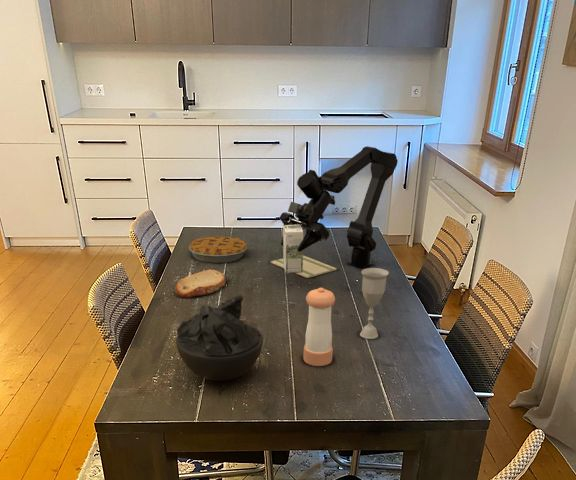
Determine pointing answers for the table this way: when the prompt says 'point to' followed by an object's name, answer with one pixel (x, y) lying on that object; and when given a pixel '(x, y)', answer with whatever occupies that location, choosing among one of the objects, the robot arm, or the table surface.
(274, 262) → the towel
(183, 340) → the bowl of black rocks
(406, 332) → the table surface
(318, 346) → the pepper shaker
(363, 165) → the robot arm
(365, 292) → the chalice
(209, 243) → the pie
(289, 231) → the syrup box
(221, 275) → the bread slice
